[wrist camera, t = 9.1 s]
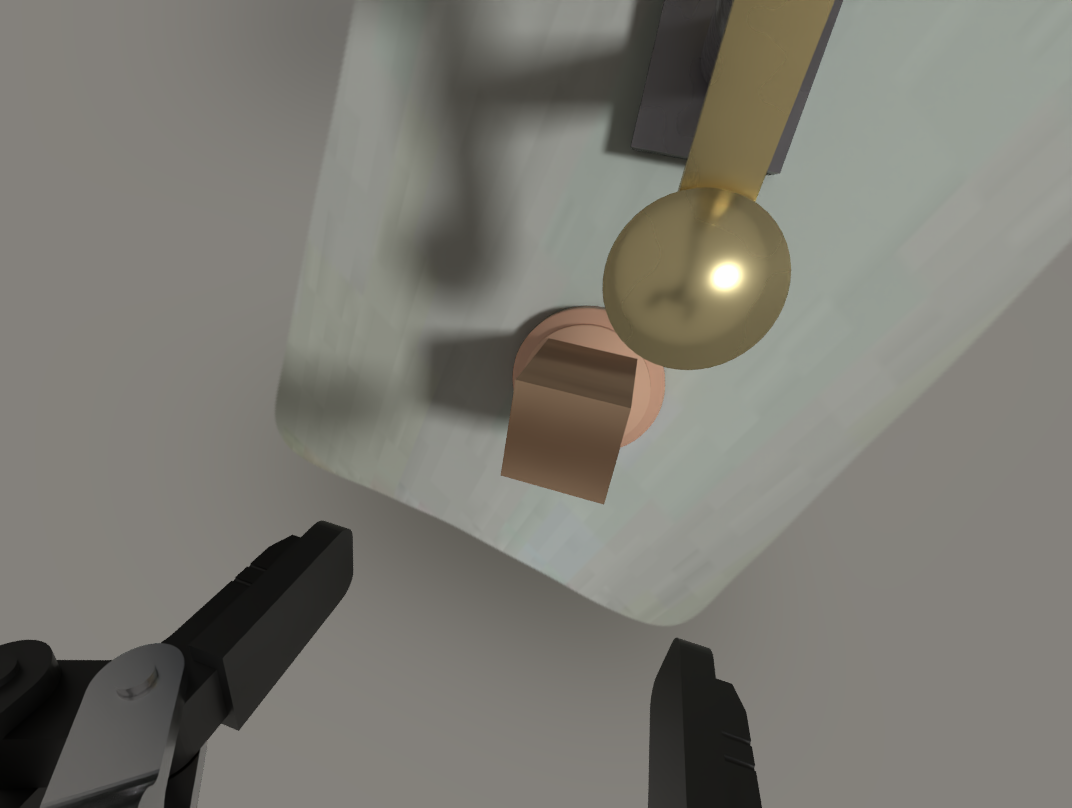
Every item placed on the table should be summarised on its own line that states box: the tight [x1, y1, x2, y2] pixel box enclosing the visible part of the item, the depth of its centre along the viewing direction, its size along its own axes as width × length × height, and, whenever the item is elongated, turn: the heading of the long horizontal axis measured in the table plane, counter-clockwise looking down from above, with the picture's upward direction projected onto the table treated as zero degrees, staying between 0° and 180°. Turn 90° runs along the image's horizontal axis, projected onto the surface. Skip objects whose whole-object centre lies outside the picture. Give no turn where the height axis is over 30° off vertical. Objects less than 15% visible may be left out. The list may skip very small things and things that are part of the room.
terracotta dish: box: [513, 306, 665, 447], centre depth 24 cm, size 8×8×1 cm
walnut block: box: [501, 338, 638, 504], centre depth 21 cm, size 4×4×6 cm
